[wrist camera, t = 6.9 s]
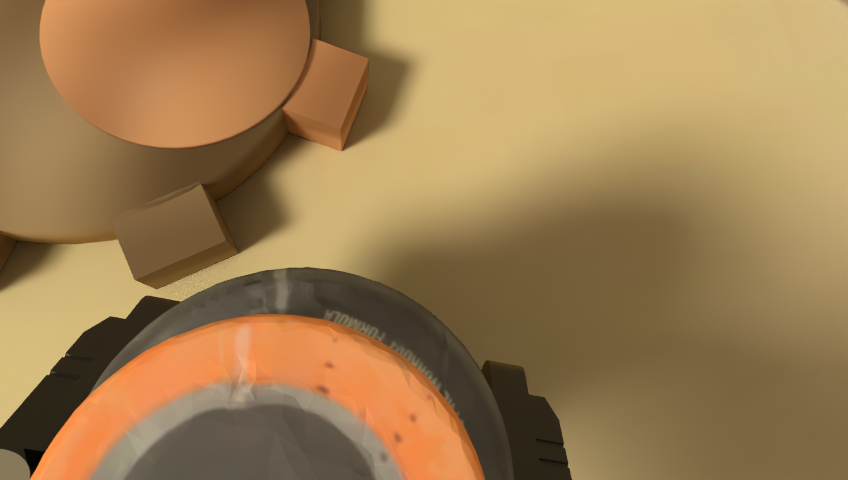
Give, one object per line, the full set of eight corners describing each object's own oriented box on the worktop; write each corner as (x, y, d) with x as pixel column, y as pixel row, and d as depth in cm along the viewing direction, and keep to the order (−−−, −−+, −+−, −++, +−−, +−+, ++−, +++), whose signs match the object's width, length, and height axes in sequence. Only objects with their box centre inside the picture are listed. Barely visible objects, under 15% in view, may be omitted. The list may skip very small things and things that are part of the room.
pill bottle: (474, 463, 16) (759, 677, 5) (283, 600, 14) (48, 1358, 3) (363, 282, 16) (381, 98, 5) (173, 396, 15) (-313, 454, 4)
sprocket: (437, -90, 20) (445, -135, 18) (248, 386, 15) (234, 388, 14) (-35, -268, 19) (-74, -333, 17) (-378, 176, 15) (-476, 150, 13)
